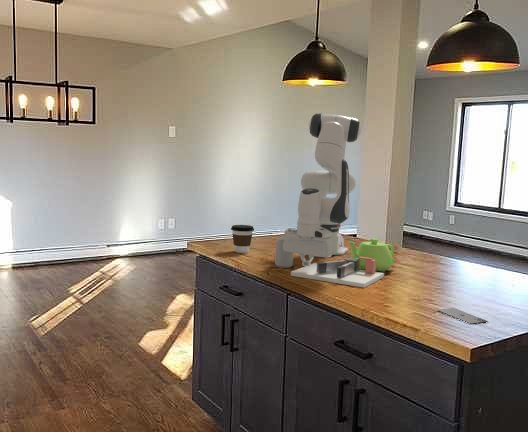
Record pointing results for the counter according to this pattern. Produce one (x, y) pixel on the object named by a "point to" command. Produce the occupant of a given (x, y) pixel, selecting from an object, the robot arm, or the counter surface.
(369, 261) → the lock tab
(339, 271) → the tongs fixed
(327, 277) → the board
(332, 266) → the tongs arm
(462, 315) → the smartphone
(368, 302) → the counter surface
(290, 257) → the can
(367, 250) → the teapot
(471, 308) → the counter surface
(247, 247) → the coffee cup
